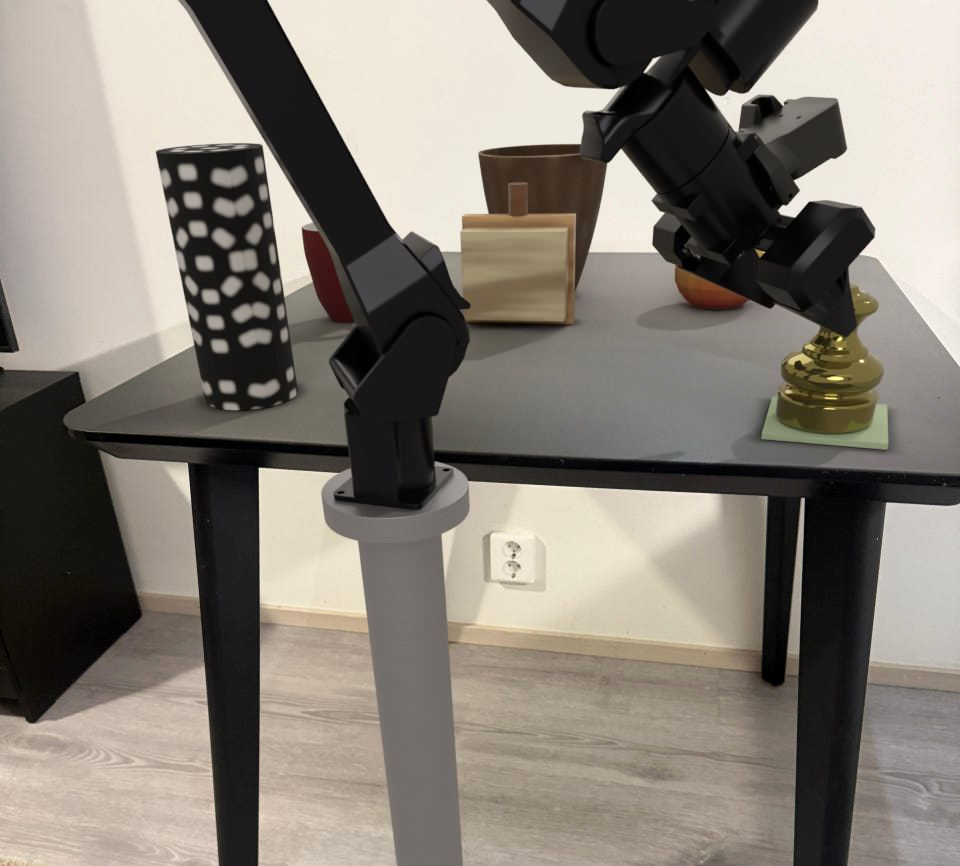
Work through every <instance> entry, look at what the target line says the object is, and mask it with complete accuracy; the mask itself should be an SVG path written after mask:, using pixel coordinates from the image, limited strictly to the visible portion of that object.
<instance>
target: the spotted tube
mask: <svg viewBox="0 0 960 866" xmlns="http://www.w3.org/2000/svg"><path fill="white" fill-rule="evenodd" d="M155 155H156V156H155V157H156V161H157V167H158V170H159V176H160V181H161V186H162V190H163V196H164V201H165V206H166V211H167V215H168V221H169V227H170V231H171V237H172V242H173V246H174V251H175V256H176V261H177V265H178V270H179V276H180V282H181V286H182V291H183V297H184V302H185V305H186V307H185V308H186V311H187V316H188V321H189V326H190V331H191V336H192V341H193V346H194V351H195V356H196V361H197V366H198V372H199V376H200V381H201V382H200V383H201V387H202V391H203V396H204V401H205V404H207V405H208V406H209V407H212V408H215V409H219V410H225V411H251V410H259V409H260V410H261V409H266V408H270V407H275V406H277V405H281V404H284V403H286V402H289V401H291V400H292V399H293V398H295V397H296V396H297V395H298V393H299V392H298V391H299V389H298V383H297V376H296V369H295V361H294V355H293V348H292V340H291V334H290V327H289V320H288V312H287V306H286V298H285V291H284V284H283V278H282V272H281V264H280V257H279V249H278V243H277V237H276V236H277V235H276V229H275V221H274V215H273V207H272V202H271V193H270V188H269V179H268V173H267V166H266V165H267V164H266V160H265V159H266V158H265V152H264V146H263V144H261V143H254V142H253V143H251V142H237V143H235V142H231V143H227V142H226V143H207V144H192V145H184V146H182V145H181V146H173V147H165V148H161V149H157V150H155Z"/></svg>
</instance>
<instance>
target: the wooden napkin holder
mask: <svg viewBox="0 0 960 866" xmlns="http://www.w3.org/2000/svg"><path fill="white" fill-rule="evenodd" d="M459 236H460V238H459V239H460V255H461V256H460V257H461V258H460V259H461V260H460V261H461V280H462V282H461V283H462V297H463V298H464V299H465V300H466V301H468V302H469V303H470V305H471V307H470V308H469V309H463V315H464V317H465V320H466V323H472V324H473V323H477V324H478V323H479V324H526V325H527V324H529V325H532V324H533V325H573V323H574V322H575V295H576V291H575V243H576V214H575V213H567V214H528V183H527V182H513V183H509V214H489V213H465V214H463V215H462V216H461V230H460V232H459Z"/></svg>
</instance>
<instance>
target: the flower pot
mask: <svg viewBox="0 0 960 866" xmlns="http://www.w3.org/2000/svg"><path fill="white" fill-rule="evenodd" d="M580 147H581V143H552V144H551V143H550V144H549V143H546V144H526V145H525V144H524V145H513V146H511V145H510V146H502V147H501V146H500V147H494V148H487V149H482V150H480V151H478V152H477V154H478V155H477V156H478V163H479V170H480V176H481V182H482V188H483V194H484V199H485V204H486V208H487V214H509V183H513V182H527V183H528V214H567V213H575V214H576V243H575V292H577V288H578V285H579V282H580V280H581V277H582V275H583V271H584V268H585V266H586V262H587V259H588V256H589V253H590V249H591V246H592V242H593V238H594V235H595V230H596V227H597V222H598V217H599V214H600V209H601V203H602V200H603V193H604V189H605V182H606V177H607V170H608V169H607V168H608V163H602V162H597V161H592V160H587V159H583V158H582V157H581V156H580Z"/></svg>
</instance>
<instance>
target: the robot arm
mask: <svg viewBox="0 0 960 866" xmlns="http://www.w3.org/2000/svg"><path fill="white" fill-rule="evenodd" d="M177 2H179V4H180V5H181V6H182V7H183V9H184V10H185V11H186V13H187V14H188V16H189V17H190V19H191V21H192V22H193V24H194V25H195V28H196V29H197V31H198V33H199V34H200V36H201V38H202V39H203V41H204V43H205V44H206V46H207V47H208V49H209V50H210V52H211V55H212V56H213V58H214V60H215V61H216V62H217V64H218V67H220V69H221V71H222V72H223V75H224V76H225V77H226V79H227V81H228V83H229V84H230V86H231V88H232V90H233V91H234V93H235V94H236V96H237V98H238V99H239V101H240V103H241V104H242V106H243V108H244V110H245V111H246V113H247V114H248V116H249V118H250V119H251V122H252V123H253V125H254V126H255V128H256V130H257V131H258V133H259V135H260V137H261V139H262V140H263V141H264V143H265V145H266V146H267V148H268V150H269V151H270V153H271V155H272V156H273V158H274V159H275V161H276V163H277V164H278V166H279V168H280V170H281V171H282V173H283V175H284V177H285V178H286V180H287V181H288V183H289V185H290V187H291V188H292V190H293V191H294V193H295V195H296V197H297V198H298V200H299V202H300V204H301V205H302V206H303V208H304V210H305V212H306V213H307V215H308V217H309V218H310V220H311V223H314V225H315V227H316V228H317V230H318V232H319V233H320V235H321V237H322V238H323V240H324V242H325V243H326V245H327V247H328V249H329V251H330V254H331V257H332V259H333V262H334V266H335V269H336V272H337V275H338V278H339V281H340V284H341V287H342V290H343V293H344V296H345V299H346V301H347V304H348V306H349V309H350V311H351V314H352V316H353V319H354V321H353V322H354V324H355V325H354V327H353V328H352V329H351V330H350V331H349V333H348V334H347V335H346V337H345V338H344V339H343V341H341V343H340V345H338V347H336V349H335V351H334V352H333V353H332V355H330V356H329V359H328V365H329V367H330V368H331V371H332V373H333V375H334V377H335V379H336V380H337V383H338V385H339V386H340V387H341V389H342V390H344V391H345V393H346V395H347V396H348V397H347V398H346V399H345V400H344V402H343V409H344V413H343V417H344V426H345V433H346V442H347V449H348V458H349V459H348V460H349V465H350V468H351V476H352V477H351V478H350V479H349V480H347V481H346V482H345V483H344V484H343V485H342V486H340V487H339V488H338V489H337V490H336V491H335V492H334V493H333V494H334V500H336V501H342V502H351V503H359V504H367V505H375V506H383V507H392V508H400V509H408V510H420V509H422V508H423V507H424V506H425V505H426V504H427V503H428V502H429V501H430V500H431V499H432V498H433V497H434V496H435V495H436V494H437V493H438V492H439V491H440V489H441V488H442V487H443V486H444V485H445V484H446V483H447V482H448V481H449V480H450V479H451V478H452V477H453V475H454V472H453V469H452V468H449V467H440V466H435V462H436V461H435V458H436V457H435V444H434V430H433V417H437V416H438V415H439V413H440V410H441V407H442V404H443V403H442V402H443V399H444V396H445V393H446V389H447V386H448V381H449V378H450V377H452V376H453V375H454V374H455V373H456V372H457V371H458V369H459V368H460V366H461V364H462V363H463V361H464V359H465V356H466V353H467V350H468V346H469V344H470V342H471V338H470V337H471V336H470V328H469V326H468V322H466V320H465V317H464V313H463V312H462V311H461V310H464V309H469V308H470V307H471V305H470V303H469V302H468V301H466V300H465V299H464V298H463V295H461V294H460V293H459V291H458V290H457V288H456V287H455V286H454V283H453V282H452V279H451V277H450V273H449V270H448V267H447V264H446V260H445V258H444V256H443V253H442V251H441V249H440V247H439V246H438V245H437V244H436V243H433V242H432V241H430V240H428V239H426V238H425V237H423V236H422V235H420V234H419V233H416V232H414V231H409V233H407V234H406V235H405V237H403V238H402V237H401V236H400V235H399V234H398V233H397V232H396V230H395V229H394V228H393V226H392V225H391V224H390V222H389V220H388V219H387V217H386V215H385V213H384V212H383V210H382V208H381V205H379V202H378V200H377V199H376V197H375V195H374V193H373V191H372V189H371V188H370V185H369V184H368V181H367V180H366V178H365V176H364V175H363V173H362V171H361V169H360V167H359V166H358V164H357V162H356V159H355V158H354V157H353V154H352V152H351V151H350V149H349V147H348V145H347V143H346V142H345V140H344V138H343V136H342V134H341V133H340V131H339V128H338V127H337V125H336V123H335V121H334V120H333V118H332V115H330V112H329V111H328V109H327V107H326V105H325V103H324V100H322V98H321V96H320V94H319V92H318V90H317V88H316V87H315V85H314V83H313V81H312V79H311V78H310V76H309V74H308V72H307V70H306V69H305V67H304V64H303V63H302V61H301V59H300V57H299V55H298V54H297V52H296V50H295V48H294V46H293V44H292V42H291V41H290V39H289V37H288V36H287V34H286V32H285V30H284V27H283V26H282V24H281V23H280V20H279V18H278V17H277V15H276V13H275V11H274V9H273V8H272V6H271V4H270V1H269V0H177ZM486 2H487V3H488V4H489V5H490V6H491V7H492V8H493V9H494V11H495V12H496V13H497V16H498V17H499V18H500V20H501V21H502V23H503V24H504V26H505V27H506V29H507V30H508V32H509V34H510V36H511V37H512V38H513V39H514V41H515V42H516V43H517V44H518V45H519V46H520V47H521V49H522V50H523V51H524V52H525V53H526V54H527V55H528V56H529V57H530V59H531V60H532V61H533V62H534V63H535V64H536V65H537V67H539V68H540V70H541V71H542V72H543V73H544V74H545V75H546V76H547V77H548V78H549V79H550V80H551V81H553V82H555V83H557V84H559V85H561V86H563V87H566V88H567V87H568V88H576V89H577V88H580V89H596V90H612V91H614V90H617V89H618V90H617V91H616V92H615V94H613V96H612V97H611V99H610V100H609V101H608V103H607V104H606V105H605V106H604V107H603V108H602V109H600V110H588V109H587V110H585V111H583V112H582V115H581V118H582V123H583V125H582V126H583V129H582V130H583V131H582V135H581V141H580V144H581V147H580V156H581V157H582V158H583V159H587V160H592V161H597V162H602V163H607V164H609V163H611V162H612V161H613V160H614V158H615V157H616V156H617V154H618V153H619V152H620V151H622V152H623V153H624V154H625V156H626V157H627V158H628V159H629V161H630V162H631V163H632V164H633V166H634V167H635V168H636V169H637V170H638V172H639V173H640V175H641V176H642V177H643V178H644V180H645V181H646V182H647V183H648V184H649V186H650V187H651V188H652V189H653V191H654V192H655V195H654V196H653V198H651V200H650V201H651V202H652V204H653V205H654V206H655V207H656V209H657V211H659V212H661V213H663V215H661V217H660V218H659V219H658V220H657V222H656V223H655V224H654V225H653V226H652V239H651V240H652V241H651V245H652V247H653V248H654V249H655V250H656V251H657V253H658V254H659V255H660V256H661V257H662V258H663V259H664V261H665V262H666V263H670V264H673V265H678V267H679V268H680V269H682V270H684V271H686V272H689V273H691V274H693V275H695V276H698V277H700V278H702V279H704V280H706V281H709V282H711V283H713V284H715V285H718V286H720V287H722V288H724V289H726V290H729V291H731V292H733V293H735V294H738V295H740V296H742V297H744V298H746V299H749V300H748V301H751V302H753V303H755V304H757V305H759V306H762V307H764V308H766V309H768V310H772V309H773V308H774V307H775V306H778V307H781V308H783V309H784V310H786V311H788V312H791V313H792V314H795V315H797V316H799V317H802V318H803V319H805V320H807V321H809V322H812V323H813V324H815V325H818V326H819V327H820V326H822V327H824V328H826V329H828V330H830V331H832V332H834V333H836V334H838V335H840V336H842V337H845V338H846V337H848V336H849V335H850V334H851V333H852V332H853V331H854V330H855V329H856V327H857V320H856V315H855V309H854V304H853V299H852V293H851V288H850V284H851V283H850V282H851V281H850V271H849V270H850V266H851V265H852V263H854V262H855V260H856V259H857V258H858V257H859V256H860V255H861V253H862V252H863V251H864V250H865V249H866V248H867V247H868V245H870V244H871V242H872V241H873V240H874V239H875V237H876V227H875V226H874V223H872V221H871V219H870V218H869V216H868V215H867V213H866V211H865V210H864V208H863V207H862V206H859V205H854V204H849V203H844V202H839V201H834V200H828V199H821V200H810V201H807V203H806V204H805V205H804V206H803V208H802V209H801V210H800V211H798V213H797V215H796V216H791V215H786V214H782V213H781V212H780V211H779V210H780V209H781V208H782V207H783V206H785V207H787V206H788V205H789V204H790V203H791V202H792V201H793V200H794V198H796V196H797V195H798V194H799V193H800V192H801V189H800V188H799V186H798V184H797V183H796V182H795V181H796V180H798V179H800V178H802V177H803V176H805V175H808V174H809V173H811V172H812V171H813V170H815V169H817V168H819V167H820V166H821V165H823V164H824V163H826V162H828V161H829V160H831V159H832V160H836V159H838V158H840V157H841V156H843V155H844V154H845V153H846V152H847V150H848V145H847V138H846V134H845V128H844V124H843V123H844V122H843V118H842V113H841V108H840V102H839V98H836V97H823V96H801V97H799V98H796V99H793V98H787V99H786V100H785V101H783V104H782V103H781V101H780V100H779V99H778V98H777V97H776V96H775V95H773V94H756V95H755V96H753V97H752V98H750V99H749V100H747V101H746V102H744V103H742V104H741V108H740V114H739V123H738V130H734V128H733V126H732V125H731V124H730V122H729V121H728V120H727V117H725V115H724V114H723V113H722V111H721V109H720V107H718V105H717V104H716V103H715V101H714V99H712V97H711V96H710V94H713V95H714V96H718V97H724V96H725V95H727V93H728V92H729V91H730V92H733V93H736V94H741V95H744V94H748V93H749V92H750V91H751V90H752V89H753V87H754V86H755V85H756V84H757V82H758V81H759V80H760V79H761V78H762V76H763V75H764V74H765V73H766V72H767V71H768V70H769V68H770V66H772V65H773V63H774V62H775V61H776V60H777V59H778V57H779V56H780V55H781V54H782V52H783V51H784V50H785V49H786V47H788V45H789V44H790V43H791V42H792V40H793V39H794V38H795V37H796V36H797V34H799V32H800V31H801V30H802V29H803V27H804V26H805V25H806V24H807V22H808V21H809V20H810V19H811V17H813V15H814V14H815V13H816V11H817V10H818V7H819V0H486ZM657 58H658V59H657ZM653 59H657V60H656V61H655V62H654V63H653V64H652V61H653ZM650 64H652V65H651V67H649V66H650ZM648 67H649V69H648V70H647V68H648ZM646 70H647V71H646ZM709 93H710V94H709ZM755 249H756V250H759V251H763V253H764V254H763V255H762V256H761V257H759V255H758V253H757V252H756V250H755Z"/></svg>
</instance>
